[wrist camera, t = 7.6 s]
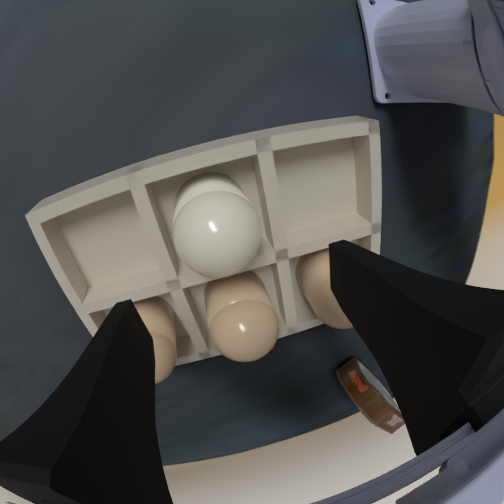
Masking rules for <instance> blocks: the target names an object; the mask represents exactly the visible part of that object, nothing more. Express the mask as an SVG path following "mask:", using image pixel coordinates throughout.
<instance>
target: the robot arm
mask: <svg viewBox="0 0 504 504" xmlns="http://www.w3.org/2000/svg"><path fill="white" fill-rule="evenodd" d="M370 1H371V2H372V5H371V4H370V2H369V0H357V2H358V7H359V11H360V16H361V20H362V25H363V30H364V35H365V41H366V47H367V53H368V59H369V65H370V72H371V80H372V88H373V96H374V99H375V101H376V102H378V103H409V102H437V103H453V104H458V105H462V106H467V107H471V108H475V109H479V110H483V111H487V112H491V113H494V114H498V115H501V116H504V0H423V1H418V2H413V3H405V2H400V1H395V0H370ZM386 93H387V99H386V98H385V94H386ZM328 245H329V266H330V289H331V291H332V293H333V295H334V297H335V298H336V300H337V302H338V304H339V306H340V308H341V310H342V311H343V313H344V314H345V316H346V317H347V318H348V320H349V321H350V323H351V324H352V326H353V327H354V328H355V330H356V331H357V333H358V334H359V335H360V337H361V338H362V340H363V341H364V343H365V344H366V345H367V347H368V348H369V350H370V351H371V353H372V354H373V356H374V358H375V359H376V361H377V363H378V365H379V367H380V368H381V370H382V372H383V374H384V376H385V378H386V380H387V382H388V384H389V387H390V389H391V391H392V393H393V395H394V397H395V399H396V402H397V404H398V407H399V409H400V412H401V414H402V417H403V419H404V422H405V424H406V427H407V430H408V433H409V436H410V439H411V442H412V445H413V448H414V451H415V453H416V455H417V457H415V458H413V459H412V460H410V461H408V462H406V463H404V464H403V465H401V466H399V467H397V468H395V469H393V470H391V471H389V472H387V473H385V474H383V475H381V476H379V477H377V478H375V479H373V480H370V481H368V482H366V483H364V484H361V485H359V486H357V487H354V488H352V489H350V490H347V491H345V492H342V493H339V494H337V495H334V496H331V497H329V498H326V499H323V500H320V501H317V502H314V503H311V504H372V503H374V502H376V501H378V500H380V499H382V498H385V497H386V496H389V495H390V494H392V493H394V492H396V491H398V490H400V489H402V488H404V487H406V486H408V485H409V484H411V483H413V482H415V481H416V480H418V479H420V478H422V477H423V476H425V475H426V474H428V473H430V472H431V471H433V470H434V469H436V468H437V467H439V466H441V467H440V469H439V474H438V475H436V476H435V477H433V478H432V479H430V480H429V481H427V482H425V483H424V484H422V485H420V486H419V487H417V488H415V489H414V490H413V491H411V492H410V493H408V494H406V495H405V496H403V497H401V498H399V499H398V500H396V504H501V503H502V502H503V501H504V290H497V289H489V288H482V287H475V286H470V285H466V284H461V283H457V282H452V281H449V280H445V279H441V278H438V277H435V276H432V275H429V274H425V273H423V272H420V271H417V270H414V269H412V268H409V267H407V266H404V265H402V264H399V263H397V262H394V261H392V260H390V259H388V258H385V257H383V256H381V255H379V254H376V253H374V252H372V251H370V250H368V249H365V248H363V247H361V246H359V245H356V244H354V243H352V242H349V241H347V240H344V239H343V240H340V241H336V242H333V243H330V244H328ZM0 486H2V487H3V488H5V489H7V490H9V491H10V492H12V493H14V494H16V495H18V496H20V497H22V498H24V499H26V500H28V501H30V502H32V503H35V504H173V502H172V499H171V496H170V492H169V490H168V486H167V482H166V478H165V474H164V470H163V465H162V461H161V456H160V451H159V445H158V439H157V432H156V424H155V353H154V343H153V337H152V336H151V334H150V332H149V331H148V329H147V327H146V325H145V324H144V322H143V320H142V318H141V316H140V315H139V313H138V311H137V309H136V307H135V305H134V304H133V302H132V300H131V299H129V300H125V301H121V302H117V303H116V304H115V305H114V306H113V308H112V309H111V311H110V312H109V313H108V315H107V316H106V318H105V320H104V321H103V323H102V324H101V326H100V327H99V329H98V330H97V332H96V334H95V335H94V337H93V338H92V340H91V341H90V343H89V344H88V346H87V347H86V349H85V350H84V352H83V353H82V355H81V356H80V358H79V359H78V361H77V362H76V364H75V365H74V367H73V368H72V369H71V371H70V372H69V373H68V375H67V376H66V377H65V379H64V380H63V381H62V382H61V384H60V385H59V386H58V387H57V389H56V390H55V391H54V392H53V393H52V394H51V395H50V396H49V397H48V399H47V400H46V401H45V402H44V403H43V404H42V405H41V406H40V407H39V409H38V410H37V411H36V412H34V413H33V414H32V415H31V416H30V417H29V418H28V419H27V420H26V421H25V422H24V423H23V424H22V425H21V426H19V427H18V428H17V429H16V430H15V431H13V432H12V433H11V434H10V435H8V436H7V437H6V438H4V439H3V440H2V441H1V442H0ZM6 504H14V503H11V502H6Z"/></svg>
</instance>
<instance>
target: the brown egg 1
mask: <svg viewBox="0 0 504 504" xmlns="http://www.w3.org/2000/svg"><path fill="white" fill-rule="evenodd" d="M133 304H134V305H135V307H136V309H137V311H138V313H139V315H140V316H141V318H142V320H143V322H144V324H145V325H146V327H147V329H148V331H149V332H150V334H151V336H152V337H153V343H154V353H155V384H157V383H159V382H161V381H163V380H164V379H166V378H167V377H168V376H169V375H170V374H171V372H172V371H173V369H174V366H175V364H176V359H177V348H176V325H175V312H174V310H173V308H172V306H171V305H170V304H169V303H168V302H167V301H166V300H165V299H163V298H161V297H159V296H153V297H150V298H146V299H142V300H138V301H134V302H133Z"/></svg>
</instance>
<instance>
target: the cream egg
mask: <svg viewBox="0 0 504 504" xmlns="http://www.w3.org/2000/svg"><path fill="white" fill-rule="evenodd" d="M261 235H262V231H261V223H260V220H259V217H258V215H257V213H256V211H255V209H254V208H253V206H252V204H251V203H250V201H249V200H248V198H247V196H246V195H245V193H244V192H243V190H242V188H241V187H240V185H239V184H238V183H237V182H236V181H235V180H234V179H232V178H231V177H229V176H227V175H224V174H221V173H216V172H207V173H201V174H198V175H196V176H194V177H192V178H190V179H189V180H188V181H186V182H185V183H184V184H183V185H182V186H181V188H180V189H179V191H178V193H177V195H176V198H175V201H174V213H173V242H174V246H175V249H176V251H177V254H178V256H179V257H180V259H181V260H182V261H183V263H184V264H185V265H186V266H187V267H188V268H189V269H191V270H192V271H194V272H196V273H198V274H200V275H202V276H206V277H211V278H223V277H228V276H231V275H234V274H236V273H238V272H240V271H241V270H243V269H244V268H246V267H247V266H248V265H249V264H250V263H251V261H252V260H253V259H254V257H255V256H256V254H257V252H258V250H259V247H260V243H261Z"/></svg>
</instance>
